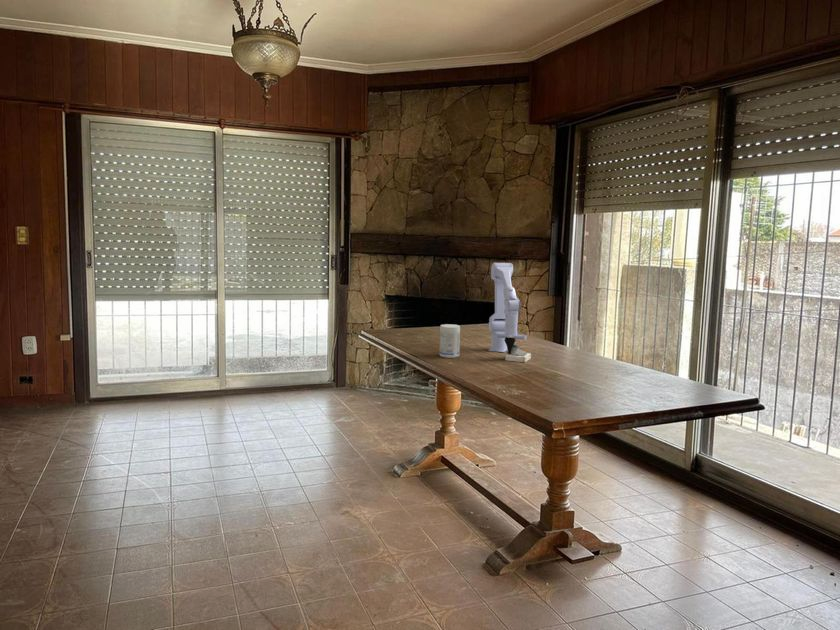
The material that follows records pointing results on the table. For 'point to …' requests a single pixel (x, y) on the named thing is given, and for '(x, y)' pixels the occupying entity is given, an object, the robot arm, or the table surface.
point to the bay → (518, 358)
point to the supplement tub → (449, 340)
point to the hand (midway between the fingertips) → (509, 353)
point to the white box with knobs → (516, 351)
